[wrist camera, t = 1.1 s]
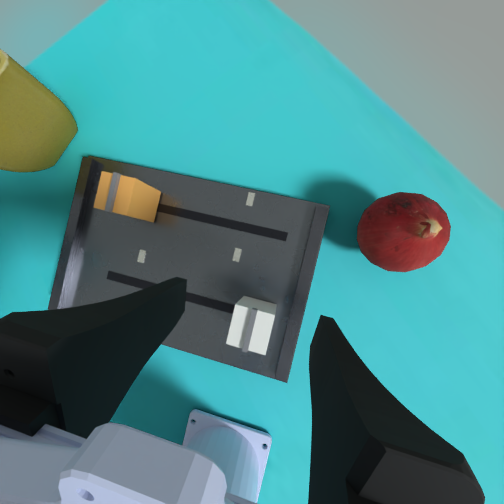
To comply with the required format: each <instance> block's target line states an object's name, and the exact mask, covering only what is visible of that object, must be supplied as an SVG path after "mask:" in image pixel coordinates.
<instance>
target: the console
mask: <svg viewBox="0 0 504 504" xmlns="http://www.w3.org/2000/svg"><path fill="white" fill-rule="evenodd" d="M102 171H104V172H109V173H113V172H116V173H119V174H121V175H123V176H127V177H132V178H136V179H138V180H140V181H142V182H144V183H146V184H147V185H149V186H151V187H153V188H155V189H157V190H159V191H161V194H160V198H159V203H158V207H157V211H156V215H155V220H154V223H153V222H149V221H145V220H141V219H137V218H132V217H128V216H124V215H120V214H116V213H111V212H107V211H104V210H101V209H97V208H93V207H94V203H95V198H96V194H97V190H98V185H99V181H100V177H101V172H102ZM329 208H330V206H329V205H324V204H319V203H314V202H309V201H305V200H300V199H295V198H290V197H285V196H280V195H276V194H271V193H266V192H261V191H256V190H252V189H247V188H242V187H237V186H232V185H228V184H223V183H218V182H213V181H208V180H204V179H199V178H194V177H189V176H184V175H180V174H175V173H170V172H165V171H160V170H155V169H151V168H146V167H141V166H136V165H131V164H127V163H122V162H117V161H112V160H107V159H103V158H98V157H93V156H88V158H87V157H83V159H82V163H81V167H80V172H79V176H78V180H77V185H76V189H75V193H74V198H73V202H72V206H71V211H70V215H69V219H68V224H67V228H66V232H65V237H64V241H63V245H62V250H61V254H60V258H59V262H58V267H57V271H56V275H55V280H54V284H53V288H52V293H51V297H50V301H49V306H48V310H54V309H63V308H70V307H77V306H82V305H88V304H93V303H98V302H103V301H107V300H111V299H114V298H118V297H121V296H125V295H128V294H131V293H134V292H137V291H139V290H142V289H145V288H148V287H150V286H153V285H156V284H158V283H161V282H163V281H166V280H168V279H171V278H174V277H180V278H184V279H187V289H186V302H185V311H184V313H183V315H182V316H181V318H180V320H179V321H178V323H177V325H176V326H175V327H174V329H173V330H172V331H171V332H170V334H169V335H168V336H167V337H166V339H165V340H164V341H163V342H162V345H165V346H169V347H172V348H175V349H178V350H182V351H185V352H188V353H192V354H195V355H198V356H201V357H205V358H208V359H211V360H214V361H218V362H221V363H224V364H227V365H231V366H234V367H237V368H240V369H244V370H247V371H250V372H253V373H257V374H260V375H263V376H267V377H270V378H273V379H276V380H280V381H283V382H286V383H287V381H288V377H289V373H290V369H291V365H292V361H293V356H294V352H295V348H296V344H297V340H298V336H299V332H300V328H301V324H302V319H303V315H304V311H305V307H306V303H307V299H308V295H309V291H310V287H311V282H312V278H313V274H314V270H315V266H316V262H317V258H318V254H319V250H320V245H321V241H322V237H323V233H324V229H325V225H326V221H327V217H328V213H329ZM243 296H247V297H251V298H255V299H259V300H262V301H266V302H270V303H274V304H277V305H276V313H275V318H274V322H273V326H272V330H271V334H270V339H269V343H268V347H267V351H266V355H262V354H259V353H255V352H252V351H249V350H248V352H247V353H246V352H243V351H242V348H238V347H235V346H232V345H228V344H226V341H227V337H228V333H229V329H230V324H231V320H232V316H233V312H234V308H235V304H236V303H237V302H238V301H239V300H240V299H241V298H242V297H243Z"/></svg>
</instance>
